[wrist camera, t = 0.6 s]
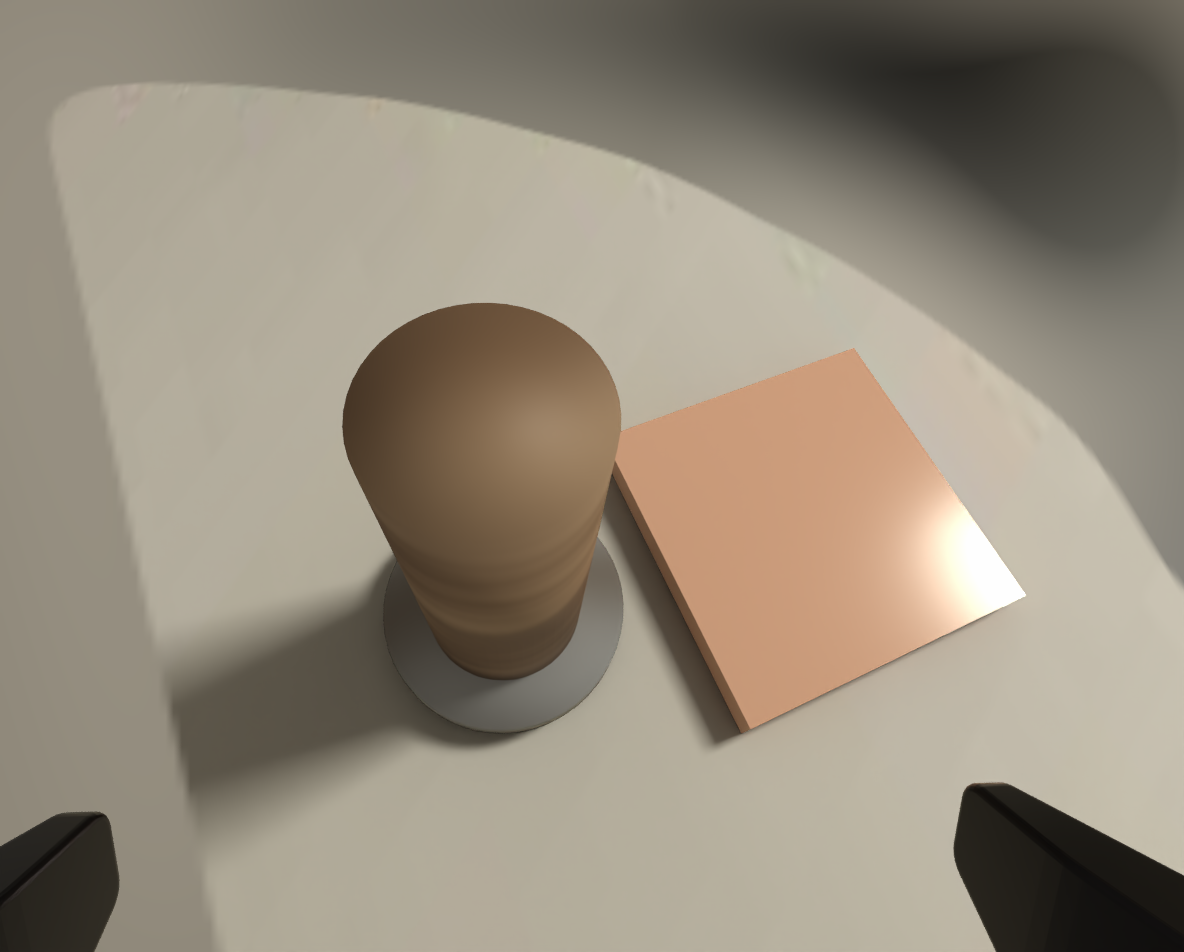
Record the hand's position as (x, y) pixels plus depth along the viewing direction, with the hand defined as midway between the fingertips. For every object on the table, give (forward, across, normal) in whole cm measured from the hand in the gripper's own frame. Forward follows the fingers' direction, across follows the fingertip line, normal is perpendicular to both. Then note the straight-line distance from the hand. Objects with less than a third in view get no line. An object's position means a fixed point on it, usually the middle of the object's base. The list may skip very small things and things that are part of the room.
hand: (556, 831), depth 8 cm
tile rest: (+16, -9, +2) cm, 18 cm away
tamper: (+14, +1, +4) cm, 15 cm away
